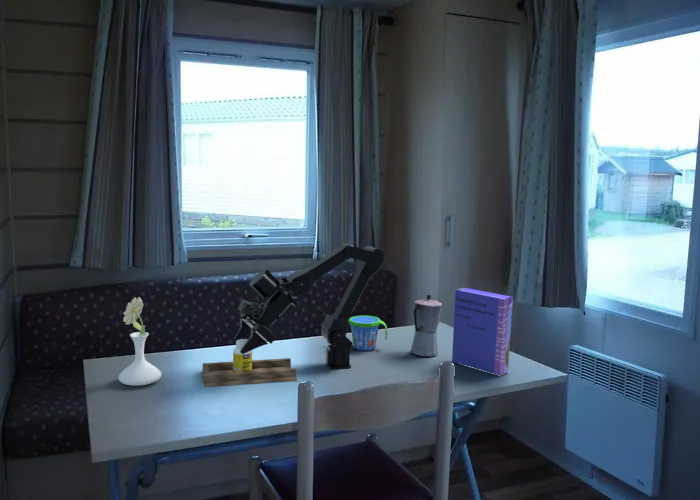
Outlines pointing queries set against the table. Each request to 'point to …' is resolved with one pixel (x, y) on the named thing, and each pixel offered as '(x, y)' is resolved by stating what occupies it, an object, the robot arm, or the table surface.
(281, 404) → the table surface
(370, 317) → the snack cup
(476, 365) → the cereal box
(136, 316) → the flower in vase
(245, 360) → the supplement bottle
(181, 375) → the table surface
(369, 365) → the table surface
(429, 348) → the moka pot
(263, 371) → the walnut track
